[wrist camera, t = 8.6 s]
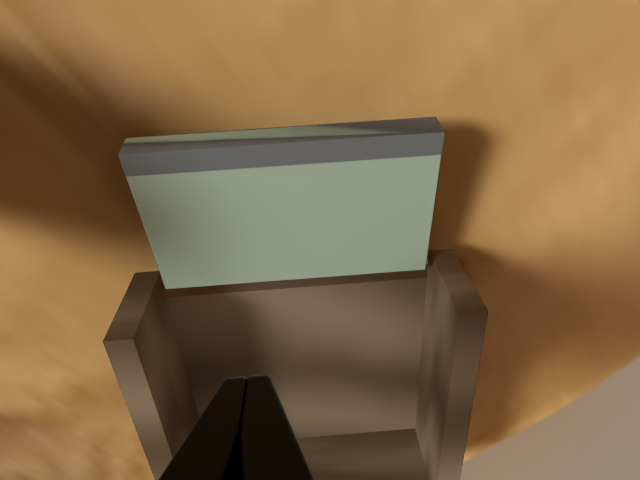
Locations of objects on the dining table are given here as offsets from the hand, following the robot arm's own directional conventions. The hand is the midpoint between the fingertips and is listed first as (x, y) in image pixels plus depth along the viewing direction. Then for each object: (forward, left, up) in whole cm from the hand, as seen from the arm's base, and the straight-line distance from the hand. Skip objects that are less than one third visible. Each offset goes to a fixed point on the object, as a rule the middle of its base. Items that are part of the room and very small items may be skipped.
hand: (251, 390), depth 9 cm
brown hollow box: (-10, -1, -11) cm, 15 cm away
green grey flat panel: (-4, -1, -10) cm, 10 cm away
